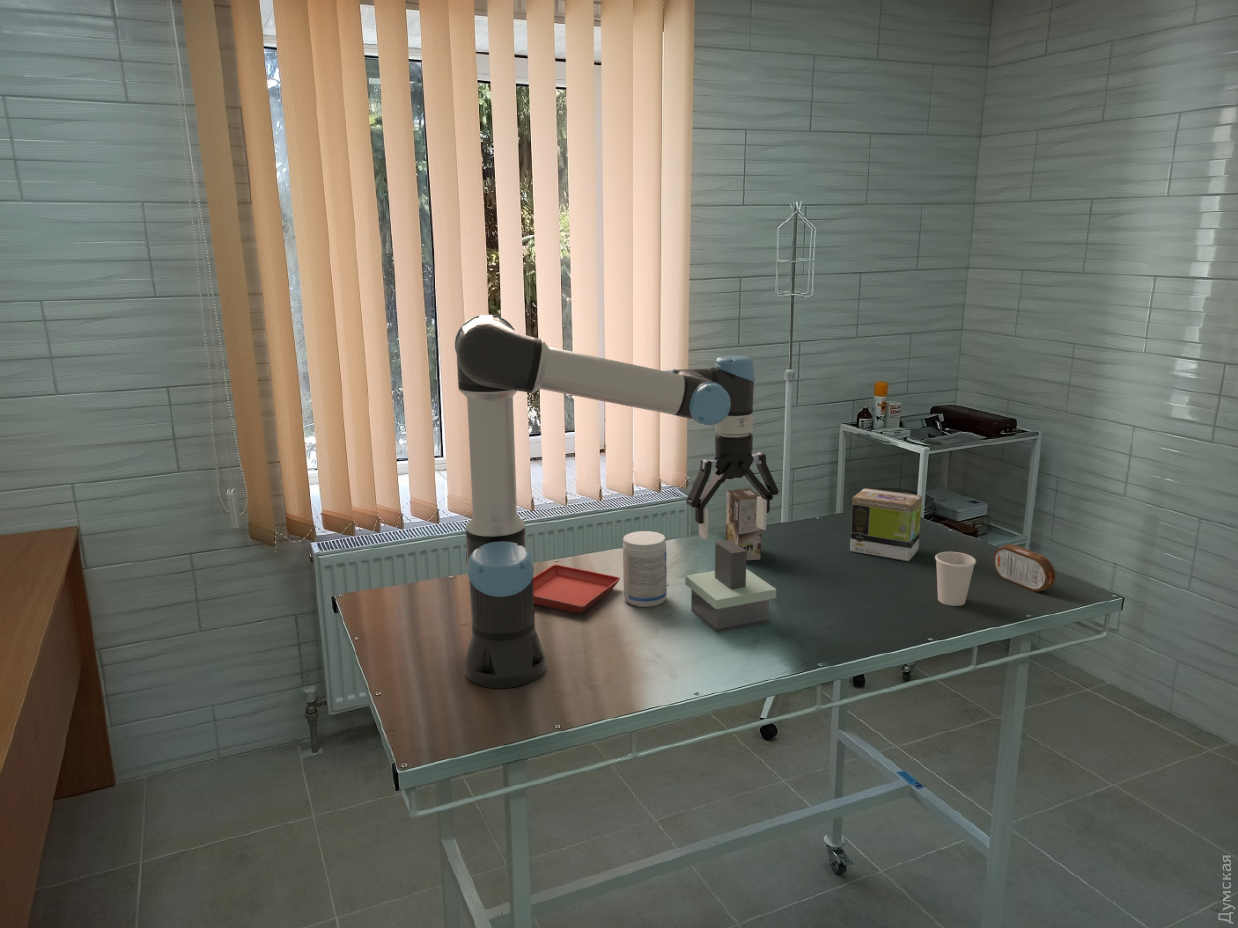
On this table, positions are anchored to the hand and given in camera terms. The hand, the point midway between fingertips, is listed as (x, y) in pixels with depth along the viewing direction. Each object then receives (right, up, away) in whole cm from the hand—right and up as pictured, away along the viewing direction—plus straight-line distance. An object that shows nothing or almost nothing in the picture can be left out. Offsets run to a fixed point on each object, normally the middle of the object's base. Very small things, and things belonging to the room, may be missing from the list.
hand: (732, 532), depth 185 cm
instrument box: (0, -18, +5) cm, 19 cm away
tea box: (+44, -8, +42) cm, 61 cm away
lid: (0, -13, +3) cm, 13 cm away
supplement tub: (-18, -16, +14) cm, 28 cm away
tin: (+69, -14, +20) cm, 73 cm away
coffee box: (+8, -9, +40) cm, 42 cm away
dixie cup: (+50, -16, +12) cm, 54 cm away
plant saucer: (-35, -16, +16) cm, 42 cm away
